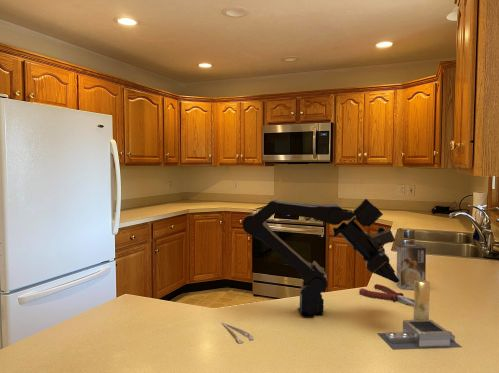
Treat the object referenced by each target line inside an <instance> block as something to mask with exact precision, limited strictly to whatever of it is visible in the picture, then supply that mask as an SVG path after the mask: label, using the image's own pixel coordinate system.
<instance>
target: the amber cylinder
mask: <svg viewBox="0 0 499 373" xmlns="http://www.w3.org/2000/svg"><path fill="white" fill-rule="evenodd" d="M430 289H431V282H430V281H428V280H415V284H414V290H413V294H414V295H413V300H414V306H413V320H430V292H431V290H430Z"/></svg>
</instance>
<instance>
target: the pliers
mask: <svg viewBox="0 0 499 373" xmlns="http://www.w3.org/2000/svg"><path fill="white" fill-rule="evenodd" d="M373 288H375V289H374V290H377V289H378V290H377V291H371V290H368V289H365V288H360V289H359V291H358V292H359V295H362V296H364V297H367V298H370V297H371V298H372V299H376V298H377V300H383V299H384V301H385V300H386V301H392V302H393V303H395V302H399V303H402V304H404V305H405V304H406V305H409V306H413V307H414V298H413V299H412V298H410V297H407V296H404V293H402V292H397V291H395V290H393V289H391V288H390V287H388V286H385V285H383V284H378V283H375V284H374V286H373ZM380 290H381V291H380ZM379 291H380V292H379Z"/></svg>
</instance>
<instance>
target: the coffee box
mask: <svg viewBox="0 0 499 373" xmlns="http://www.w3.org/2000/svg"><path fill="white" fill-rule="evenodd" d="M426 255H427V248H426V246H425V247H424V246H423V245H421V244H403V243H402V244H401V243H400V244H399V243H397V244H396V276H397V278H398V279H399V282H397V283H395V284H396V286H398V288H399V289H400V290H412V291H414V284H415V280H426V278H427V277H426V270H427V267H426V263H427V262H426V261H427V260H426V258H427V256H426ZM426 281H427V280H426Z"/></svg>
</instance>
